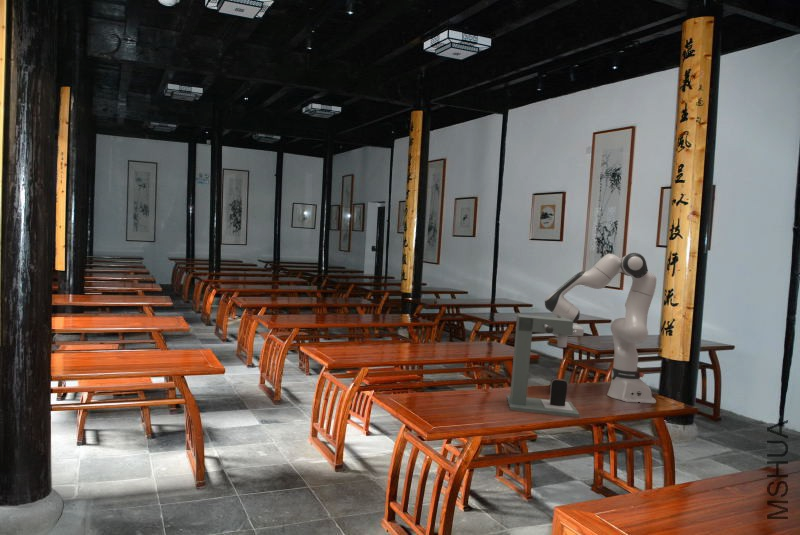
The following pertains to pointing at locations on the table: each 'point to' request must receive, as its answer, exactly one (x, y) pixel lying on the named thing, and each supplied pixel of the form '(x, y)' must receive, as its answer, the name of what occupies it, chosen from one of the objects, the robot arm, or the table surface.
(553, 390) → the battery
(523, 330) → the press
